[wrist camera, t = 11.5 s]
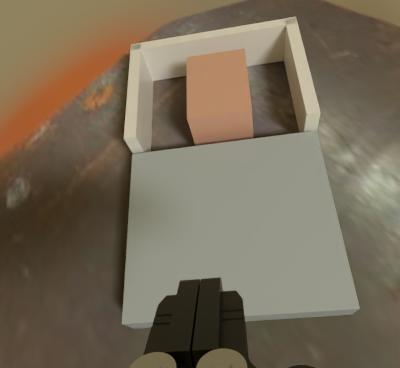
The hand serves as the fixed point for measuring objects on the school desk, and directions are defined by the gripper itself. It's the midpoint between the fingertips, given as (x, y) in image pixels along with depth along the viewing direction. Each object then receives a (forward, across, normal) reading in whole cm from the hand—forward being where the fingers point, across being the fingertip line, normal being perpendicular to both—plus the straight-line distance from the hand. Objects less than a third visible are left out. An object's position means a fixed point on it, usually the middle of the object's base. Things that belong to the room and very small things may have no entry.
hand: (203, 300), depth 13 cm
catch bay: (+30, -1, -4) cm, 30 cm away
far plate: (+20, -1, +6) cm, 21 cm away
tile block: (+24, -1, -2) cm, 24 cm away
